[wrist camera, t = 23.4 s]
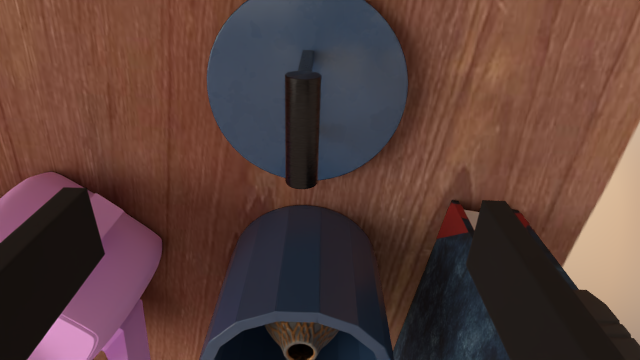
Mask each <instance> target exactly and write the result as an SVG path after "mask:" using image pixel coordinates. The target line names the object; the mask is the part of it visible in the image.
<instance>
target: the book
mask: <svg viewBox="0 0 640 360" xmlns="http://www.w3.org/2000/svg"><path fill="white" fill-rule="evenodd" d="M512 211H513V212H514V213H515V215H516V216H517V217H518V219H519V220H520V221H521V223H522V224H523V225H524V226H525V228H526V229H527V230H528V232H529V233H530V234H531V236H532V237H533V238H534V240H535V241H536V242H537V244H538V245H539V246H540V248H541V249H542V250H543V251H544V253H545V254H546V255H547V257H548V258H549V259H550V261H551V262H552V263H553V265H554V266H555V267H556V269H557V270H558V271H559V273H560V274H561V275H562V277H563V278H564V279H565V280H566V282H567V283H568V284H569V286H570V287H571V288H572V290H579V289H578V288H577V286H576V285H575V284H574V282H573V281H572V280H571V279H570V277H569V276H568V275H567V273H566V272H565V271H564V269H563V268H562V267H561V266H560V264H559V263H558V262H557V260H556V259H555V258H554V256H553V255H552V254H551V253H550V251H549V250H548V249H547V247H546V246H545V245H544V243H543V242H542V241H541V240H540V238H539V237H538V236H537V234H536V233H535V231H534V230H533V229H532V227H531V226H530V225H529V223H528V222H527V221H526V219H525V218H524V216H523V215H522V214H521V213H520V212H519V211H518V210H512ZM478 216H479V212H475V211H469V210H464V209H463V207H462V205H460V203H459V202H458V201H455V200H452V201H451V204H450V206H449V208H448V210H447V213H446V215H445V218H444V221H443V223H442V226H441V228H440V231H439V233H438V236H437V240H436V242H435V245H434V248H433V250H432V253H431V255H430V258H429V260H428V263H427V266H426V268H425V271H424V273H423V276H422V278H421V281H420V284H419V286H418V289H417V291H416V294H415V296H414V299H413V302H412V304H411V307H410V309H409V312H408V314H407V317H406V320H405V322H404V325H403V327H402V330H401V332H400V335H399V338H398V340H397V343H396V345H395V348H394V350H393V356H394V360H510V358H509V356H508V354H507V352H506V350H505V347H504V345H503V343H502V341H501V339H500V337H499V335H498V333H497V330H496V328H495V326H494V324H493V322H492V320H491V318H490V316H489V313H488V311H487V309H486V307H485V305H484V303H483V301H482V299H481V296H480V294H479V292H478V290H477V288H476V286H475V284H474V282H473V279H472V277H471V275H470V273H469V271H468V269H467V267H466V261H467V258H468V254H469V250H470V246H471V242H472V238H473V235H474V231H475V227H476V223H477V219H478Z"/></svg>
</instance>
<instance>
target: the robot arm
mask: <svg viewBox="0 0 640 360" xmlns="http://www.w3.org/2000/svg"><path fill="white" fill-rule="evenodd" d="M104 255H105V252H104V248H103V245H102V241H101V237H100V234H99V230H98V226H97V223H96V219H95V216H94V212H93V208H92V205H91V201H90V197H89V194H88V190H87V188H71V187H63V188H62V189H61V190H60V191H59V192H58V193H56V194H55V195H54V196H53V197H52V198H51V199H50V200H49V201H47V202H46V203H45V204H44V205H43V206H42V207H41V208H39V209H38V210H37V211H36V212H35V213H34V214H33V215H31V216H30V217H29V218H28V219H27V220H26V221H25V222H23V223H22V224H21V225H20V226H19V227H18V228H17V229H15V230H14V231H13V232H12V233H11V234H10V235H9V236H8V237H6V238H5V239H4V240H3V241H2V242H1V243H0V360H27V359H28V358H29V357H30V355H31V354H32V353H33V351H34V350H35V348H36V347H37V346H38V344H39V343H40V342H41V340H42V339H43V338H44V336H45V335H46V334H47V332H48V331H49V330H50V328H51V327H52V325H53V324H54V323H55V321H56V320H57V319H58V317H59V316H60V315H61V313H62V312H63V311H64V309H65V308H66V306H67V305H68V304H69V302H70V301H71V300H72V298H73V297H74V296H75V294H76V293H77V292H78V290H79V289H80V288H81V286H82V285H83V283H84V282H85V281H86V279H87V278H88V277H89V275H90V274H91V273H92V271H93V270H94V269H95V267H96V266H97V264H98V263H99V262H100V260H101V259H102V258H103V256H104ZM466 267H467V269H468V271H469V273H470V275H471V277H472V279H473V282H474V284H475V286H476V288H477V290H478V292H479V294H480V296H481V299H482V301H483V303H484V305H485V307H486V309H487V311H488V313H489V316H490V318H491V320H492V322H493V324H494V326H495V328H496V330H497V333H498V335H499V337H500V339H501V341H502V343H503V345H504V347H505V350H506V352H507V354H508V356H509V358H510V360H640V345H639V344H638V343H637V342H636V340H635V339H634V338H631V335H630V333H629V332H628V331H627V329H626V328H625V327H624V326H623V325H622V324H620V323H619V320H618V319H617V318H616V316H615V315H614V314H613V313H612V312H611V310H610V309H609V308H608V306H607V305H606V304H604V303H603V302H602V301H600V300H599V299H598V298H596V297H595V296H594V295H593V294H591V293H590V292H589V291H587V290H572V288H571V287H570V286H569V284H568V283H567V282H566V280H565V279H564V278H563V277H562V275H561V274H560V273H559V271H558V270H557V269H556V267H555V266H554V265H553V263H552V262H551V261H550V259H549V258H548V257H547V255H546V254H545V253H544V251H543V250H542V249H541V248H540V246H539V245H538V244H537V242H536V241H535V240H534V238H533V237H532V236H531V234H530V233H529V232H528V230H527V229H526V228H525V226H524V225H523V224H522V223H521V221H520V220H519V219H518V217H517V216H516V215H515V213H514V212H513V211H512V209H511V208H510V207H509V205H508V204H507V203H506V201H485V200H482V204H481V208H480V212H479V216H478V219H477V223H476V227H475V231H474V235H473V238H472V242H471V246H470V250H469V254H468V258H467V261H466Z"/></svg>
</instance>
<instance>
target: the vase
mask: <svg viewBox="0 0 640 360" xmlns="http://www.w3.org/2000/svg"><path fill="white" fill-rule="evenodd" d="M265 327H266V329H267V331H268V333H269V334H270V336H271V337H272V338H273V339H274V340H275V342H276V343H277V344H278V345H279V346H280V347H281V349H282V351H283V354H284V356H285V358H286V359H287V360H315V359H316V357H317V356H318V354H319V352H320V350H321V349H322V348H323V347H324V346H326V345H327V344H328V343H329V342H330V341H331V340H332V339H333V338H334V337H335V336H336V334H337V333H338V331H339V330H337V329H334V328H331V327H328V326H325V325H322V324H319V323H315V322H284V321H277V322H274V323H270V324H266V325H265Z"/></svg>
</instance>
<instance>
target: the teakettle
mask: <svg viewBox="0 0 640 360" xmlns="http://www.w3.org/2000/svg"><path fill="white" fill-rule="evenodd" d="M63 187H71V188H84V187H82V186H80V185H78V184H77V183H75V182H73V181H71V180H69V179H68V178H66V177H64V176H62V175H60V174H57V173H55V172H47V173H42V174H38V175H35V176H32V177H29V178H27V179H26V180H24V181H22V182H21V183H19V184H18V185H16V186H15V187H14V188H12V189H11V190H10V191H8V192H7V193H6V194H5V195H4V196H3V197H1V198H0V243H1V242H2V241H3V240H4V239H5V238H6V237H8V236H9V235H10V234H11V233H12V232H13V231H14V230H15V229H17V228H18V227H19V226H20V225H21V224H22V223H23V222H25V221H26V220H27V219H28V218H29V217H30V216H31V215H33V214H34V213H35V212H36V211H37V210H38V209H39V208H41V207H42V206H43V205H44V204H45V203H46V202H47V201H49V200H50V199H51V198H52V197H53V196H54V195H55V194H56V193H58V192H59V191H60V190H61V189H62V188H63ZM88 194H89V197H90V201H91V205H92V208H93V212H94V216H95V219H96V223H97V226H98V230H99V234H100V237H101V241H102V245H103V248H104V252H105V255H104V256H103V258H102V259H101V260H100V262H99V263H98V264H97V266H96V267H95V269H94V270H93V271H92V273H91V274H90V275H89V277H88V278H87V279H86V281H85V282H84V283H83V285H82V286H81V288H80V289H79V290H78V292H77V293H76V294H75V296H74V297H73V298H72V300H71V301H70V302H69V304H68V305H67V306H66V308H65V309H64V311H63V312H62V313H61V315H60V316H59V317H58V319H57V320H56V321H55V323H54V324H53V325H52V327H51V328H50V330H49V331H48V332H47V334H46V335H45V336H44V338H43V339H42V340H41V342H40V343H39V344H38V346H37V347H36V348H35V350H34V351H33V353H32V354H31V355H30V357H29V358H28V359H27V360H93V358H94V357H95V356H96V355H97V354H98V353H99V352H100V351H101V350H102V351H104V352H105V354H106V356H107V358H108V360H150V353H149V346H148V339H147V331H146V324H145V317H144V309H143V302H142V300H140V297H141V296H142V294H143V292H144V291H145V289H146V287H147V286H148V284H149V282H150V281H151V279H152V277H153V275H154V273H155V271H156V269H157V267H158V265H159V262H160V259H161V254H162V240H161V238H160V237H159V236H158V235H157V234H156V233H154V232H153V231H152V230H150V229H149V228H147V227H146V226H145V225H143V224H141V223H140V222H138V221H137V220H135V219H134V218H132V217H131V216H129V215H128V214H126V213H125V212H124V210H122V209H121V208H119V207H118V206H116V205H114V204H113V203H111V202H110V201H108V200H107V199H105V198H104V197H102V196H100V195H99V194H97V193H95V194H94V193H92V192H90V191H89V190H88Z"/></svg>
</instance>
